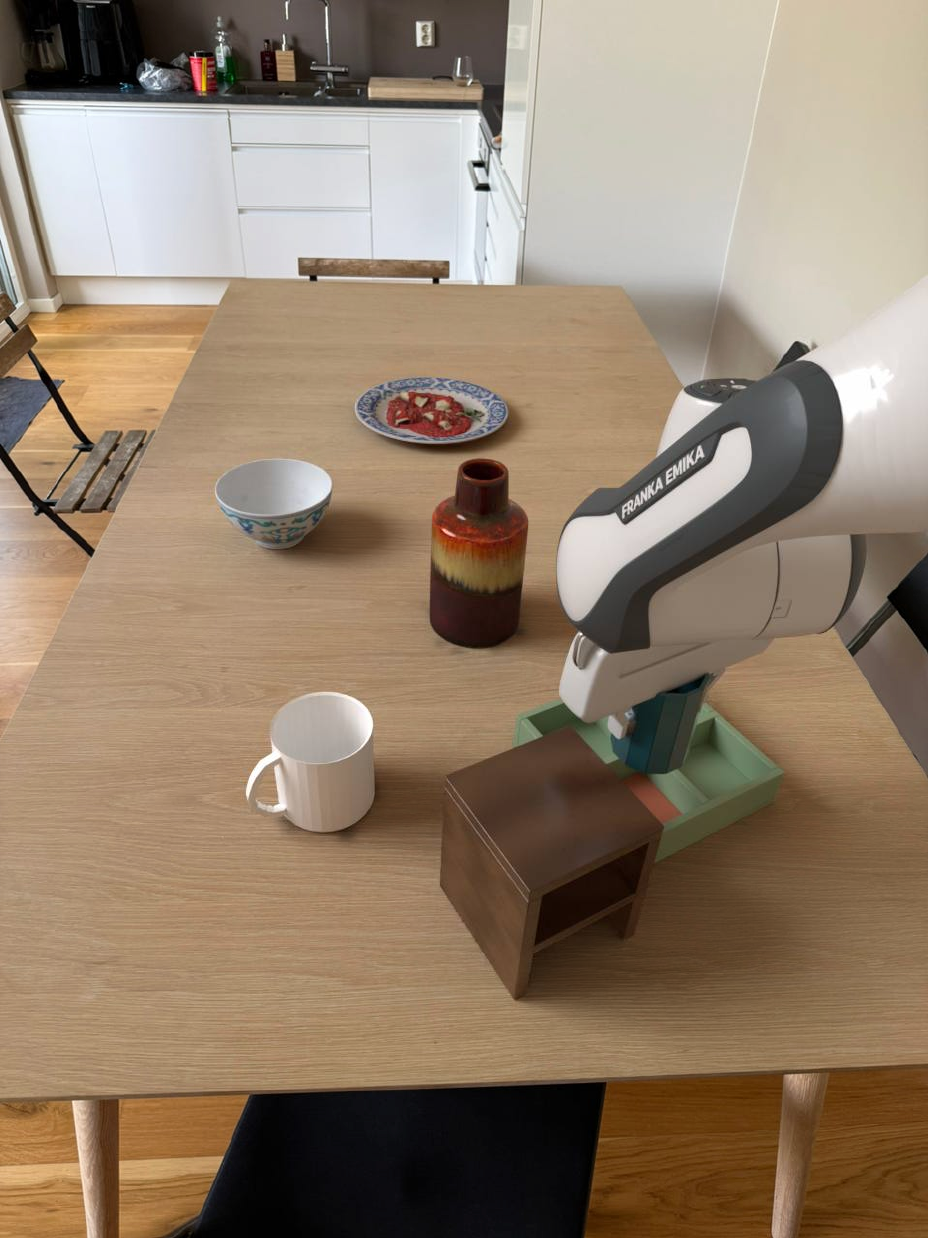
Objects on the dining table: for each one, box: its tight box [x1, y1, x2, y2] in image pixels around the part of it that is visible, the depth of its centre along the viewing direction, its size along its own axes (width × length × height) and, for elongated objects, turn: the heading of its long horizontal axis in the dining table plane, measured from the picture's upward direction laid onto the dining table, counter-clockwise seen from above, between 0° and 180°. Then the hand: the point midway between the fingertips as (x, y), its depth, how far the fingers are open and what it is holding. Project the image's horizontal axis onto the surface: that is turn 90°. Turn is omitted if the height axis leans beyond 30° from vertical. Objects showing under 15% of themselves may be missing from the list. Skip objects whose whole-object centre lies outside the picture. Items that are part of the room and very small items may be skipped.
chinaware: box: [214, 458, 334, 550], centre depth 118 cm, size 15×15×8 cm
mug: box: [245, 691, 376, 834], centre depth 81 cm, size 12×9×9 cm
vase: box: [429, 457, 529, 649], centre depth 101 cm, size 11×11×20 cm
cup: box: [610, 672, 710, 774], centre depth 75 cm, size 7×7×9 cm
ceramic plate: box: [354, 376, 509, 445], centre depth 150 cm, size 26×26×3 cm
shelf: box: [439, 725, 664, 1000], centre depth 71 cm, size 12×12×14 cm
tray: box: [512, 697, 786, 864], centre depth 87 cm, size 18×18×4 cm
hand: (657, 716), depth 76 cm, fingers closed on cup, 6 cm apart
